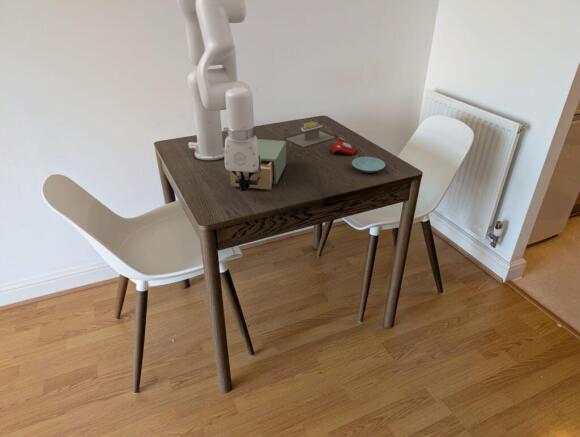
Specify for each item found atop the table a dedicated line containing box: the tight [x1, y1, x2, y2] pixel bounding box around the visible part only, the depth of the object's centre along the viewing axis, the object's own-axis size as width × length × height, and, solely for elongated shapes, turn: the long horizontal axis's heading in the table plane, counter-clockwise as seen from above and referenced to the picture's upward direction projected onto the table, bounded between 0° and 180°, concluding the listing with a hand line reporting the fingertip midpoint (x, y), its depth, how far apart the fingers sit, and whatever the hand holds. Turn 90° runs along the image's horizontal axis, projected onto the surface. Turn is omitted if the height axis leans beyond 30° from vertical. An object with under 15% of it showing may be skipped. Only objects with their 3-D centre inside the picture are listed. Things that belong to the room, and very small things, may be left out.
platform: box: [285, 121, 336, 148], centre depth 178 cm, size 12×18×7 cm, turn 128°
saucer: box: [351, 156, 386, 174], centre depth 153 cm, size 12×12×2 cm
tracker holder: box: [330, 136, 356, 155], centre depth 167 cm, size 12×4×10 cm
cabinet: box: [257, 138, 287, 185], centre depth 149 cm, size 17×15×9 cm
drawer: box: [229, 160, 274, 190], centre depth 142 cm, size 20×13×7 cm, turn 169°
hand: (244, 189), depth 132 cm, fingers closed
